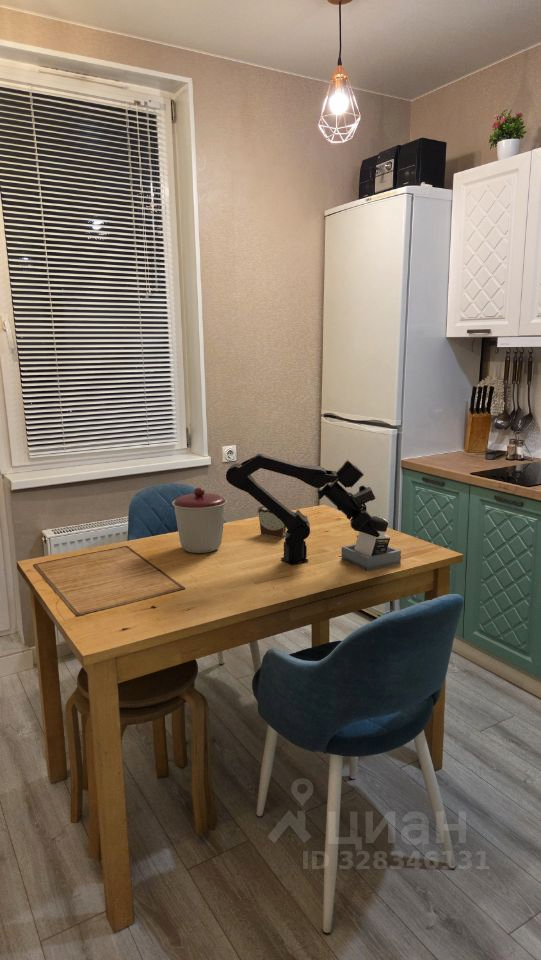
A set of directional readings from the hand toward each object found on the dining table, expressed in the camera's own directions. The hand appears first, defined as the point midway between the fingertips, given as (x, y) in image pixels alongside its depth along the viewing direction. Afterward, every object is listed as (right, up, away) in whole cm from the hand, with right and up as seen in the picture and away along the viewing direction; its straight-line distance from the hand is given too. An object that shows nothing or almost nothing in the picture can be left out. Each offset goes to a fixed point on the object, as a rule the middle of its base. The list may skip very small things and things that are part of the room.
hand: (376, 531), depth 192 cm
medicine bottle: (-2, -7, +2) cm, 8 cm away
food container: (-31, -4, +32) cm, 45 cm away
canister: (-56, -7, +16) cm, 59 cm away
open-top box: (-2, -9, +2) cm, 10 cm away
